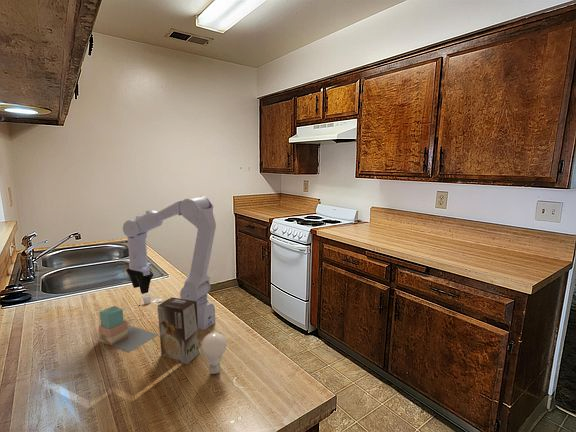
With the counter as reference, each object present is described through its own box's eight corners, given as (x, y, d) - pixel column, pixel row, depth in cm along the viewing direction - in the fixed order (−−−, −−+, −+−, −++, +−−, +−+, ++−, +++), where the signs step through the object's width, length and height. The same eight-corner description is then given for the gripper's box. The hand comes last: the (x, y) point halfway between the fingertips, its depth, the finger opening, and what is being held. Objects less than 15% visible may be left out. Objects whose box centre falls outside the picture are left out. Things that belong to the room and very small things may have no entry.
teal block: (123, 322, 100) (122, 309, 99) (109, 328, 96) (108, 314, 95) (115, 319, 102) (114, 305, 101) (100, 325, 98) (99, 311, 97)
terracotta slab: (127, 329, 100) (126, 321, 100) (111, 337, 96) (110, 329, 95) (115, 325, 103) (115, 318, 102) (99, 333, 98) (98, 326, 98)
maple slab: (128, 336, 101) (127, 329, 100) (111, 345, 96) (111, 337, 96) (116, 332, 103) (115, 325, 103) (100, 341, 98) (99, 333, 98)
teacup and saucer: (164, 302, 130) (163, 292, 130) (154, 310, 123) (153, 300, 122) (144, 301, 131) (143, 291, 131) (132, 309, 124) (131, 299, 123)
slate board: (159, 337, 102) (159, 334, 102) (128, 355, 92) (128, 352, 92) (129, 328, 108) (129, 325, 108) (97, 344, 99) (97, 341, 98)
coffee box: (200, 352, 94) (198, 300, 91) (186, 365, 88) (183, 310, 85) (175, 346, 97) (172, 296, 94) (160, 358, 91) (156, 305, 89)
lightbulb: (206, 365, 88) (204, 327, 86) (229, 365, 88) (228, 328, 86) (199, 380, 81) (197, 340, 80) (224, 381, 81) (222, 340, 80)
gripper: (157, 254, 110) (160, 292, 112) (141, 247, 120) (144, 282, 122) (136, 258, 105) (139, 298, 107) (121, 250, 115) (124, 286, 118)
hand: (140, 290), depth 114 cm, fingers open, 7 cm apart
